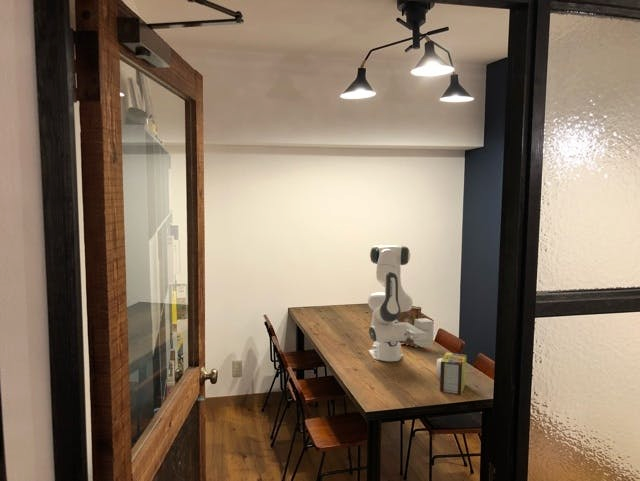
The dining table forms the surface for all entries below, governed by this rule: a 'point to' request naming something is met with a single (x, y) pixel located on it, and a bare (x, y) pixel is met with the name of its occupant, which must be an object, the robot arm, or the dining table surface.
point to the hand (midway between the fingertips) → (425, 330)
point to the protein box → (453, 373)
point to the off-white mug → (438, 367)
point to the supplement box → (425, 326)
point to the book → (410, 321)
